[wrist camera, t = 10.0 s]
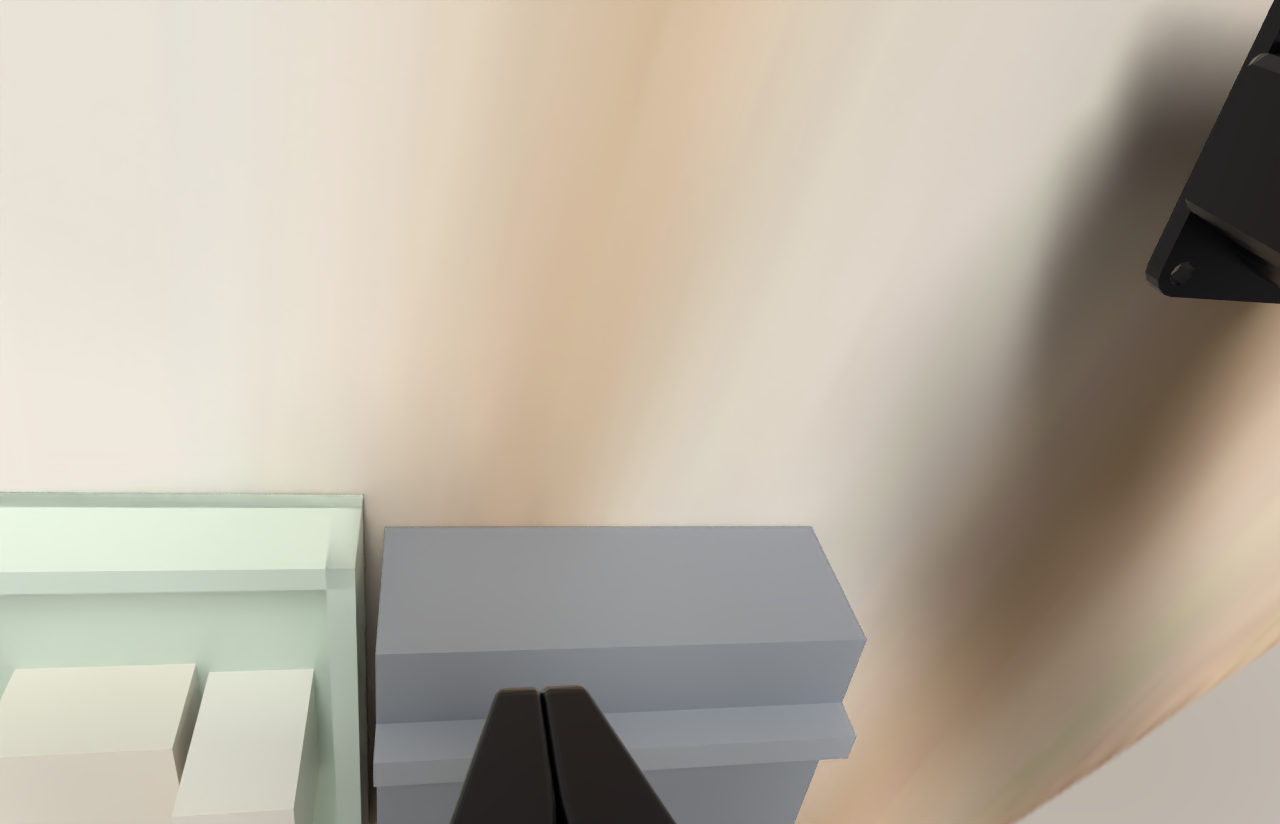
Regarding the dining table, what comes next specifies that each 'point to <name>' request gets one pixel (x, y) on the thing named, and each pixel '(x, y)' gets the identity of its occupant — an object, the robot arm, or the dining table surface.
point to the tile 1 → (95, 743)
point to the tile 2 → (252, 751)
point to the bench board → (618, 657)
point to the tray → (199, 599)
